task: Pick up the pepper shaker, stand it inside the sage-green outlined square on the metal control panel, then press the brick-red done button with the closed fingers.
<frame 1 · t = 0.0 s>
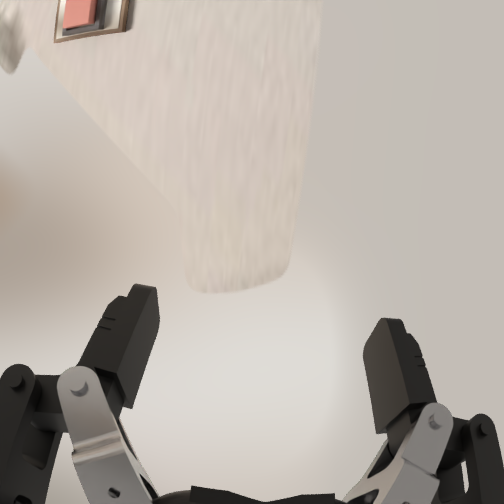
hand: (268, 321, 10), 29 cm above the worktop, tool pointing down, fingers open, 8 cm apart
done button: (80, 11, 23), point 3 cm above the worktop, slide at 0.0 cm
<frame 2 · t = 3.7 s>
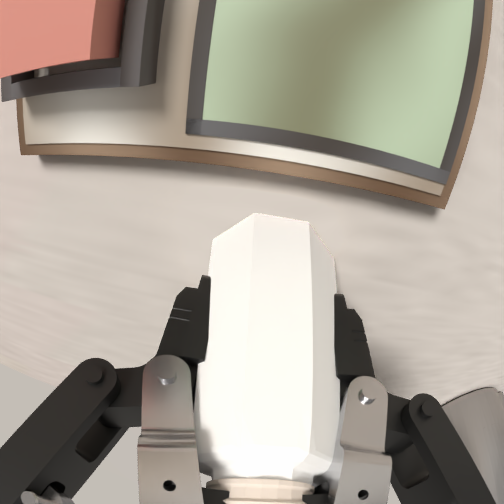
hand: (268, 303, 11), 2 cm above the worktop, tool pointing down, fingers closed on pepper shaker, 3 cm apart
pepper shaker: (270, 264, 13), on the worktop, touching gripper
metal control panel: (238, 4, 7), on the worktop
done button: (55, 5, 5), point 3 cm above the worktop, slide at 0.0 cm
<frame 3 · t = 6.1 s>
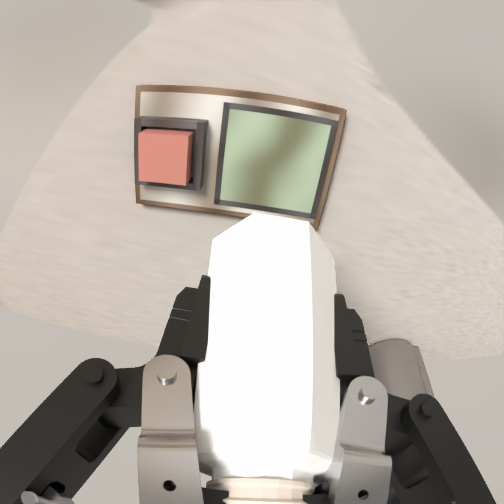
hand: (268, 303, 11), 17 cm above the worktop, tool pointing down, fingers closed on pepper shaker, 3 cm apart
pepper shaker: (270, 263, 13), point 15 cm above the worktop, touching gripper
metal control panel: (232, 152, 25), on the worktop
done button: (165, 156, 23), point 3 cm above the worktop, slide at 0.0 cm
when the fingers open (5 cm above the worktop, at t = 8.7 s): pepper shaker drops 1 cm, resting on metal control panel.
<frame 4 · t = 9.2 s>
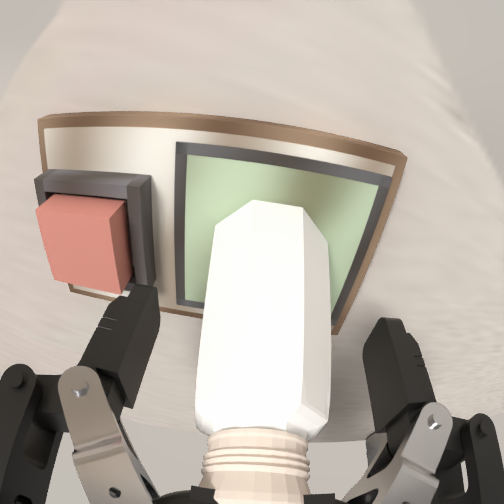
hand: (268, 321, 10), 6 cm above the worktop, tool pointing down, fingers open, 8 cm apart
pepper shaker: (268, 248, 14), point 1 cm above the worktop, touching metal control panel
metal control panel: (200, 226, 15), on the worktop
done button: (85, 243, 13), point 3 cm above the worktop, slide at 0.0 cm
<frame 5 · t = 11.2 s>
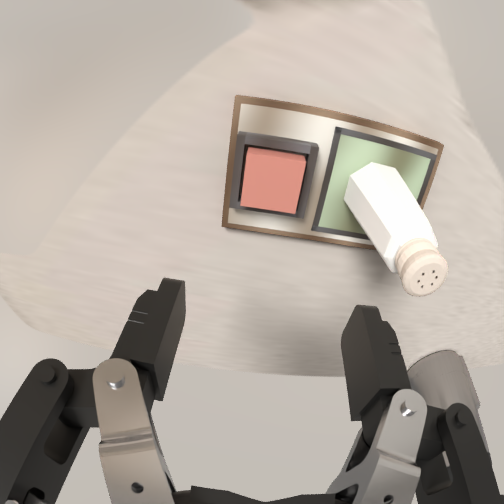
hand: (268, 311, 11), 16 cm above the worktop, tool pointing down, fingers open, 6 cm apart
pepper shaker: (374, 191, 23), point 1 cm above the worktop, touching metal control panel
metal control panel: (333, 178, 24), on the worktop
done button: (272, 180, 22), point 3 cm above the worktop, slide at 0.0 cm
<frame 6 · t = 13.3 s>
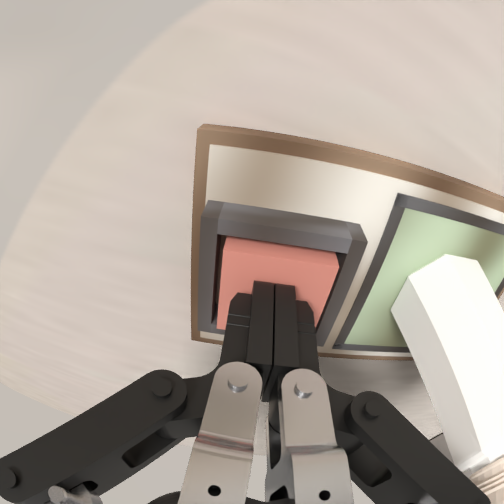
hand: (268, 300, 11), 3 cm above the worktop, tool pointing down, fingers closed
pepper shaker: (437, 293, 13), point 1 cm above the worktop, touching metal control panel
metal control panel: (375, 272, 14), on the worktop
done button: (272, 287, 12), point 2 cm above the worktop, slide at 0.7 cm, touching gripper
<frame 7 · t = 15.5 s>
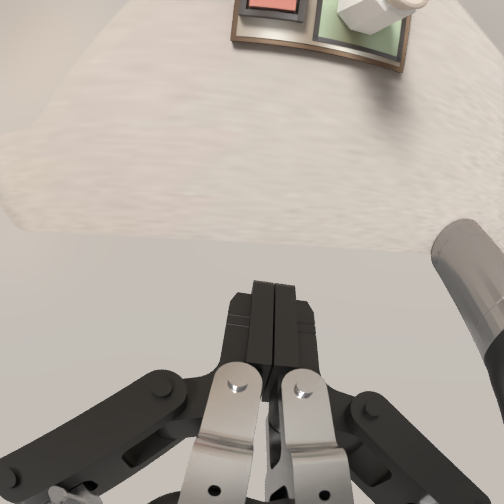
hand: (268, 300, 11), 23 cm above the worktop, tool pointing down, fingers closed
pepper shaker: (362, 10, 20), point 1 cm above the worktop, touching metal control panel
metal control panel: (325, 3, 21), on the worktop
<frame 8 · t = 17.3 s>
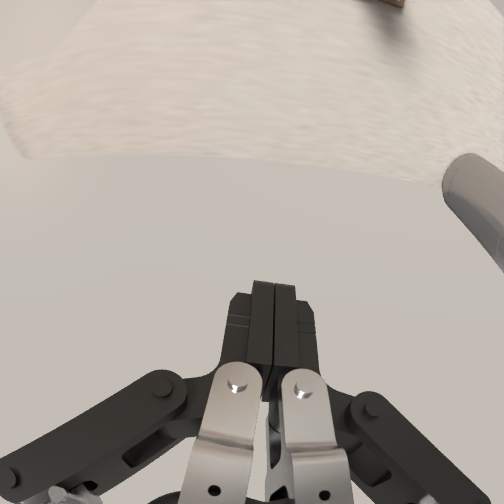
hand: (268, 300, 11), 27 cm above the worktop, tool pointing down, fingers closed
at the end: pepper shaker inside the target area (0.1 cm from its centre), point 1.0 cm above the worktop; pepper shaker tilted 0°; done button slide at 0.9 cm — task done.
